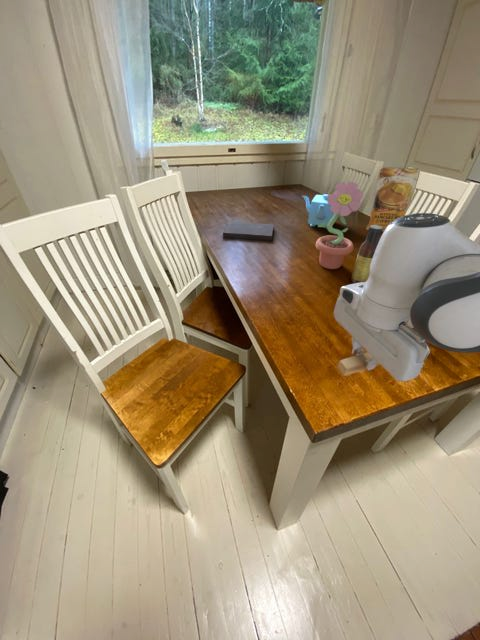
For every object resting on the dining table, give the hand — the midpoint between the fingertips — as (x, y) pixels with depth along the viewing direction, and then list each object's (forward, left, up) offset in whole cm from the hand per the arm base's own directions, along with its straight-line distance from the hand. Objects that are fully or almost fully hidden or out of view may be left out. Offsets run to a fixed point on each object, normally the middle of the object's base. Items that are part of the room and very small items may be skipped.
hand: (362, 360), depth 57 cm
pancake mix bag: (+18, -107, -8) cm, 109 cm away
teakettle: (+46, -95, -8) cm, 106 cm away
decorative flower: (+26, -54, -8) cm, 61 cm away
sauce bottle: (+12, -48, -8) cm, 50 cm away
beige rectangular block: (0, 0, -2) cm, 2 cm away
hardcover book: (+70, -63, -8) cm, 95 cm away
